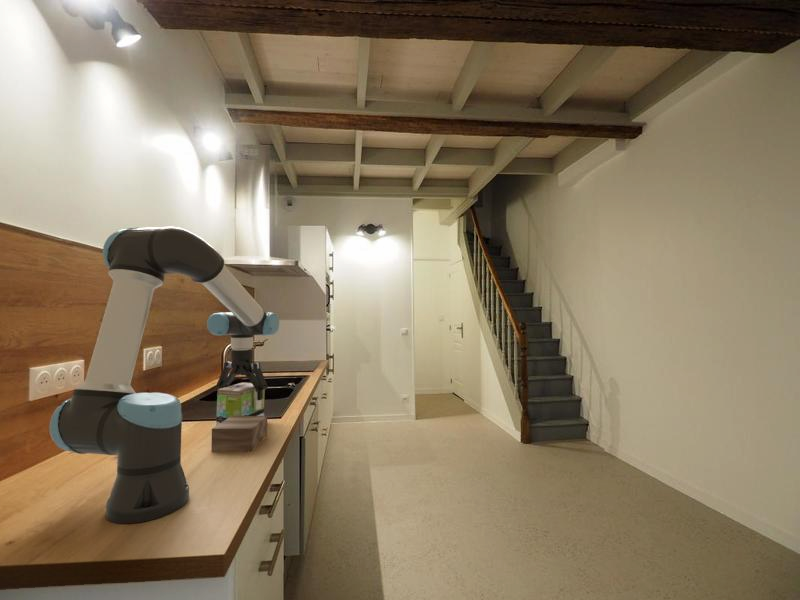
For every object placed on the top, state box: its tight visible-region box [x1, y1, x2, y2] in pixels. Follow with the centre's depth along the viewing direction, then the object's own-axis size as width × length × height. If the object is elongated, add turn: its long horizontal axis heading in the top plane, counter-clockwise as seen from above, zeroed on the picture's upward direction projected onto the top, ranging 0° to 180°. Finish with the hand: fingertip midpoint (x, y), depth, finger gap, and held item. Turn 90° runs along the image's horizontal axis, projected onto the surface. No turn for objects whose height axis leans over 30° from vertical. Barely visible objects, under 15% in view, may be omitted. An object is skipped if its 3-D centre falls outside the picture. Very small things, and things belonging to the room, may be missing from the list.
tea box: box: [215, 382, 266, 426], centre depth 143 cm, size 15×10×15 cm, turn 168°
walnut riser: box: [211, 415, 268, 452], centre depth 125 cm, size 14×12×7 cm
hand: (241, 407), depth 143 cm, fingers open, 13 cm apart
